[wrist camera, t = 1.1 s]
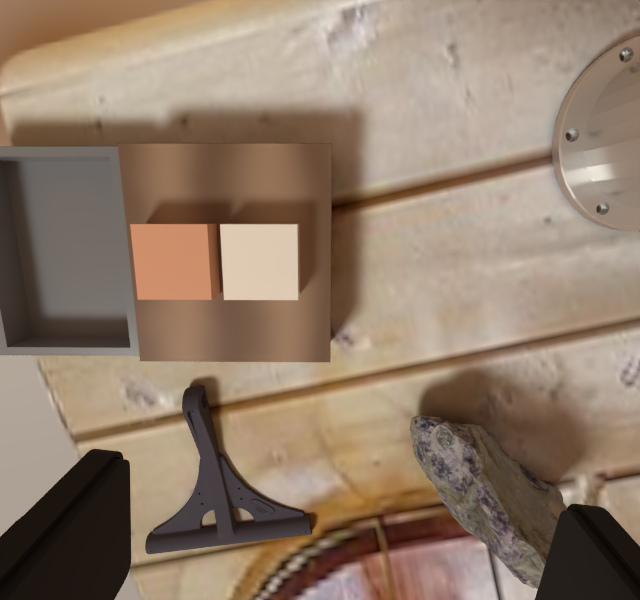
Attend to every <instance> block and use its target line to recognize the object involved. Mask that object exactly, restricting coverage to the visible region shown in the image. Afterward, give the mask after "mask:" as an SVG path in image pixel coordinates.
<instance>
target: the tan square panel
mask: <svg viewBox="0 0 640 600" xmlns="http://www.w3.org/2000/svg"><path fill="white" fill-rule="evenodd" d="M118 152H119V162H120V171H121V181H122V190H123V200H124V210H125V219H126V229H127V238H128V248H129V258H130V267H131V277H132V286H133V296H134V306H135V315H136V325H137V334H138V344H139V354H140V361H210V362H330V330H331V195H332V143H315V144H118ZM144 223H197V224H217V242H218V260H219V279H220V294H219V295H217V296H216V297H215V298H214V299H212V300H138V297H137V287H136V277H135V267H134V257H133V248H132V238H131V228H130V224H144ZM220 224H300V296H299V299H298V300H224V291H223V272H222V253H221V234H220Z"/></svg>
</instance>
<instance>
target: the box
mask: <svg viewBox="0 0 640 600" xmlns="http://www.w3.org/2000/svg"><path fill="white" fill-rule="evenodd" d="M0 355H69V356H140V354H139V344H138V334H137V325H136V315H135V306H134V296H133V286H132V277H131V267H130V258H129V248H128V238H127V229H126V219H125V210H124V200H123V190H122V181H121V171H120V162H119V152H118V146H61V147H0Z"/></svg>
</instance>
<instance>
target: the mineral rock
mask: <svg viewBox="0 0 640 600" xmlns="http://www.w3.org/2000/svg"><path fill="white" fill-rule="evenodd" d="M410 431H411V437H412V438H413V440H414V443H413V449H414V454H415V457H416V459H417V461H418V462H419V464H420V465H421V467H422V469H423V471H424V472H425V473H426V475H427V477H428V478H429V480H431V481H432V483H433V484H434V485H435V487H436V490H437V493H438V495H439V497H440V498H441V500H442V501H443V503H444V504H445V505H446V506H447V507H448V509H449V511H450V512H451V514H452V516H453V517H454V518H455V519H456V520H457V521H458V522H459V524H460V525H461V526H462V527H463V528H464V529H465V530H466V531H468V532H469V533H471V534H473V535H474V536H476V537H477V538H479V539H480V540H481V541H482V542H483V543H485V544H486V545H487V547H488V548H489V549H490V550H491V551H492V552H493V553H494V554H495V555H496V556H497V557H498V558H499V559H500V560H501V561H502V562H503V563H504V564H505V565H506V567H507V568H508V569H509V570H510V572H511V573H512V574H513V575H514V577H517V578H519V580H520V581H521V582H522V583H523V584H526V585H529V586H530V587H532V588H537V589H538V588H539V584H540V581H541V577H542V574H543V570H544V567H545V563H546V560H547V557H548V553H549V550H550V546H551V543H552V539H553V536H554V533H555V529H556V526H557V522H558V519H559V516H560V513H561V512H562V511H564V510H567V507H566V506H565V504H564V503H563V497H562V494H561V492H560V491H559V490H558V488H557V487H556V486H555V485H553V484H552V483H550V482H547V481H541V480H540V479H538V478H537V477H535V475H534V474H533V473H530V472H529V471H528V470H527V469H526V468H525V467H524V466H522V465H520V464H518V463H517V462H516V461H515V460H513V459H511V458H510V457H509V456H508V455H507V454H506V453H505V452H504V451H503V449H502V448H501V447H500V446H499V444H498V443H497V442H496V440H495V439H494V438H493V436H492V435H491V434H490V433H489V432H487V431H486V430H485V429H483V428H482V427H481V426H480V425H474V424H458V423H451V422H449V421H447V420H444V419H441V418H440V417H433V416H424V415H419V416H416V417H413V418H412V420H411V426H410Z"/></svg>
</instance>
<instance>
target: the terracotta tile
mask: <svg viewBox="0 0 640 600" xmlns="http://www.w3.org/2000/svg"><path fill="white" fill-rule="evenodd" d="M130 228H131V238H132V248H133V257H134V267H135V277H136V287H137V297H138V300H212V299H214V298H215V297H216V296H217V295H219V294H220V279H219V260H218V242H217V224H197V223H144V224H130Z"/></svg>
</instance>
